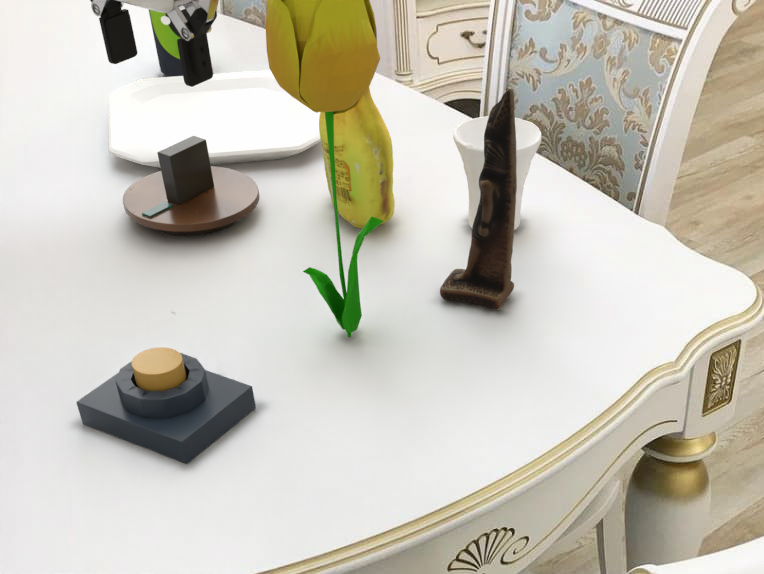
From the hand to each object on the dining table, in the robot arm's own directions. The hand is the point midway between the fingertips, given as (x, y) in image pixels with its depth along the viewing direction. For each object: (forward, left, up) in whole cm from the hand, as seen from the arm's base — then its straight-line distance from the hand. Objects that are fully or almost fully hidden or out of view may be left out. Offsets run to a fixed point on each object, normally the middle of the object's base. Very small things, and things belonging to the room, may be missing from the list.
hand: (161, 70), depth 104 cm
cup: (+27, +17, -16) cm, 36 cm away
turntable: (-2, +3, -14) cm, 15 cm away
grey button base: (+20, -27, -16) cm, 37 cm away
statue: (+33, +3, -16) cm, 37 cm away
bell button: (+20, -27, -12) cm, 36 cm away
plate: (-14, +22, -16) cm, 31 cm away
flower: (+26, -9, -16) cm, 32 cm away
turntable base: (-2, +3, -16) cm, 16 cm away
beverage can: (-29, +34, -16) cm, 48 cm away
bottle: (+13, +12, -16) cm, 24 cm away
